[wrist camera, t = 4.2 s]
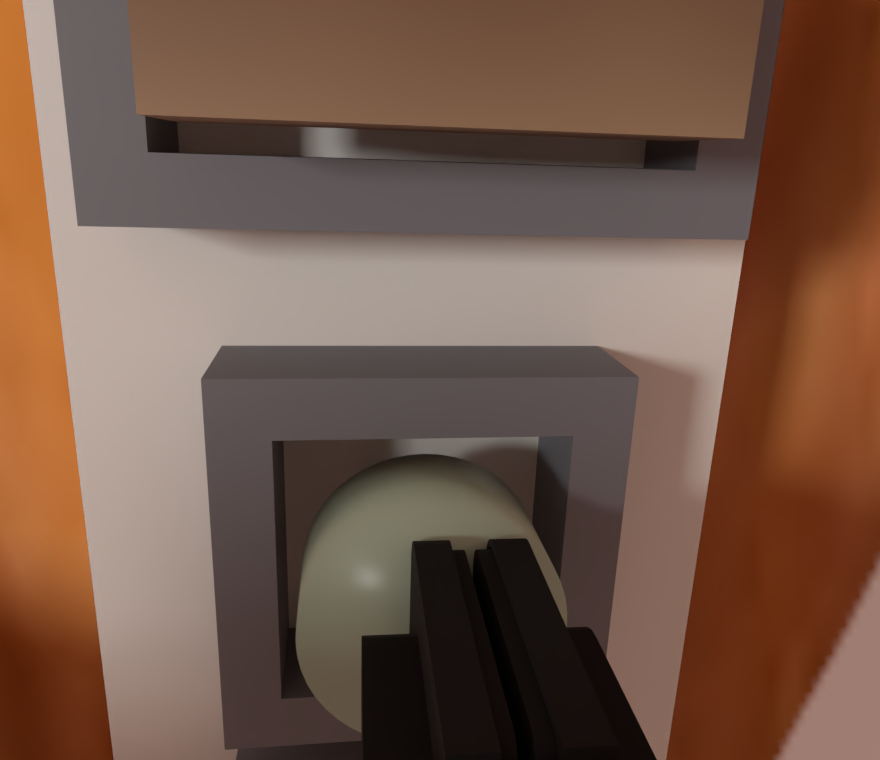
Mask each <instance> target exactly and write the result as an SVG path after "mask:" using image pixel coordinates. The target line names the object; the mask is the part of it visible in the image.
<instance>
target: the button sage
mask: <svg viewBox="0 0 880 760" xmlns="http://www.w3.org/2000/svg"><path fill="white" fill-rule="evenodd" d="M515 538H526V539H527V540H528V541H529V543H530V546H531V548H532V550H533V553H534V555H535V557H536V559H537V562H538V564H539V566H540V568H541V571H542V573H543V575H544V577H545V580H546V582H547V584H548V586H549V589H550V591H551V593H552V595H553V598H554V600H555V602H556V605H557V607H558V609H559V611H560V614H561V616H562V618H563V620H564V623H565V625H566V627H567V606H566V598H565V594H564V591H563V587H562V584H561V581H560V579H559V577H558V575H557V572H556V570H555V568H554V566H553V564H552V562H551V560H550V558H549V556H548V554H547V553H546V551H545V549H544V547H543V545H542V543H541V541H540V539H539V537H538V535H537V533H536V531H535V529H534V527H533V525H532V523H531V521H530V519H529V517H528V515H527V513H526V511H525V509H524V507H523V506H522V504H521V503H520V501H519V499H518V498H517V496H516V495H515V494H514V493H513V492H512V490H511V489H510V488H509V487H508V486H507V485H506V484H505V483H504V482H503V481H501V480H500V479H499V478H498V477H497V476H495V475H494V474H492V473H491V472H489V471H488V470H486V469H484V468H483V467H481V466H478V465H476V464H474V463H472V462H469V461H466V460H463V459H460V458H456V457H451V456H445V455H440V454H415V455H406V456H401V457H396V458H392V459H389V460H385V461H382V462H379V463H377V464H374V465H372V466H370V467H368V468H366V469H364V470H362V471H360V472H359V473H357V474H356V475H354V476H352V477H351V478H349V479H348V480H347V481H346V482H344V483H343V484H342V485H341V486H340V487H338V488H337V489H336V490H335V491H334V492H333V493H332V494H331V496H330V497H329V498H328V499H327V500H326V501H325V503H324V504H323V505H322V507H321V508H320V510H319V511H318V513H317V514H316V516H315V518H314V520H313V522H312V524H311V526H310V529H309V532H308V535H307V537H306V542H305V547H304V552H303V561H302V571H301V581H300V592H299V602H298V612H297V622H296V639H295V641H296V651H297V658H298V661H299V665H300V669H301V672H302V674H303V676H304V678H305V681H306V683H307V685H308V687H309V688H310V690H311V691H312V693H313V694H314V696H315V697H316V699H317V700H318V701H319V702H320V703H321V704H322V705H323V707H324V708H325V709H326V710H327V711H328V712H330V713H331V714H332V715H333V716H334V717H335V718H337V719H338V720H339V721H341V722H343V723H344V724H346V725H347V726H349V727H350V728H352V729H354V730H356V731H359V732H361V638H362V636H365V635H390V634H409V625H410V584H411V548H412V541H436V540H450V542H451V546H452V550H465V552H466V556H467V560H468V563H469V567H470V571H471V574H472V578H473V560H474V552H475V550H476V549H487V543H488V541H489V539H515Z"/></svg>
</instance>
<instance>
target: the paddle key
mask: <svg viewBox="0 0 880 760" xmlns="http://www.w3.org/2000/svg"><path fill="white" fill-rule="evenodd" d="M127 4H128V16H129V28H130V41H131V53H132V65H133V77H134V89H135V101H136V114H137V115H142V116H147V117H153V118H158V119H164V120H169V121H175V122H194V123H220V124H245V125H271V126H297V127H322V128H348V129H374V130H399V131H425V132H451V133H476V134H502V135H528V136H553V137H579V138H605V139H630V140H656V141H693V140H722V139H744V135H745V128H746V122H747V115H748V108H749V101H750V94H751V87H752V81H753V74H754V67H755V60H756V53H757V46H758V40H759V33H760V26H761V19H762V12H763V5H764V0H127Z"/></svg>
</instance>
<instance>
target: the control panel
mask: <svg viewBox="0 0 880 760" xmlns="http://www.w3.org/2000/svg"><path fill="white" fill-rule="evenodd" d="M784 3H785V0H764V5H763V12H762V19H761V26H760V33H759V40H758V46H757V53H756V60H755V67H754V74H753V81H752V87H751V94H750V101H749V108H748V115H747V122H746V128H745V135H744V139H722V140H693V141H656V140H630V139H605V138H579V137H553V136H528V135H502V134H476V133H451V132H425V131H399V130H374V129H348V128H322V127H297V126H271V125H245V124H220V123H194V122H175V121H169V120H164V119H158V118H153V117H147V116H142V115H137V114H136V101H135V89H134V77H133V65H132V53H131V41H130V28H129V16H128V4H127V0H23V8H24V16H25V25H26V33H27V41H28V50H29V58H30V66H31V75H32V83H33V91H34V100H35V108H36V116H37V125H38V133H39V142H40V150H41V158H42V167H43V175H44V183H45V192H46V200H47V208H48V217H49V225H50V233H51V242H52V250H53V258H54V267H55V275H56V283H57V292H58V300H59V308H60V317H61V325H62V334H63V342H64V350H65V359H66V367H67V375H68V384H69V392H70V400H71V409H72V417H73V425H74V434H75V442H76V450H77V459H78V467H79V475H80V484H81V492H82V500H83V509H84V517H85V525H86V534H87V542H88V551H89V559H90V567H91V576H92V584H93V592H94V601H95V609H96V617H97V626H98V634H99V642H100V651H101V659H102V667H103V676H104V684H105V692H106V701H107V709H108V717H109V726H110V734H111V742H112V751H113V759H114V760H362V742H361V732H359V731H356V730H354V729H352V728H350V727H349V726H347V725H346V724H344V723H343V722H341V721H339V720H338V719H337V718H335V717H334V716H333V715H332V714H331V713H330V712H328V711H327V710H326V709H325V708H324V707H323V705H322V704H321V703H320V702H319V701H318V700H317V699H316V697H315V696H314V694H313V693H312V691H311V690H310V688H309V687H308V685H307V683H306V681H305V678H304V676H303V674H302V672H301V669H300V665H299V661H298V658H297V651H296V641H295V639H296V622H297V612H298V602H299V592H300V581H301V571H302V561H303V552H304V547H305V542H306V537H307V535H308V532H309V529H310V526H311V524H312V522H313V520H314V518H315V516H316V514H317V513H318V511H319V510H320V508H321V507H322V505H323V504H324V503H325V501H326V500H327V499H328V498H329V497H330V496H331V494H332V493H333V492H334V491H335V490H336V489H337V488H338V487H340V486H341V485H342V484H343V483H344V482H346V481H347V480H348V479H349V478H351V477H352V476H354V475H356V474H357V473H359V472H360V471H362V470H364V469H366V468H368V467H370V466H372V465H374V464H377V463H379V462H382V461H385V460H389V459H392V458H396V457H401V456H406V455H415V454H440V455H445V456H451V457H456V458H460V459H463V460H466V461H469V462H472V463H474V464H476V465H478V466H481V467H483V468H484V469H486V470H488V471H489V472H491V473H492V474H494V475H495V476H497V477H498V478H499V479H500V480H501V481H503V482H504V483H505V484H506V485H507V486H508V487H509V488H510V489H511V490H512V492H513V493H514V494H515V495H516V496H517V498H518V499H519V501H520V503H521V504H522V506H523V507H524V509H525V511H526V513H527V515H528V517H529V519H530V521H531V523H532V525H533V527H534V529H535V531H536V533H537V535H538V537H539V539H540V541H541V543H542V545H543V547H544V549H545V551H546V553H547V554H548V556H549V558H550V560H551V562H552V564H553V566H554V568H555V570H556V572H557V575H558V577H559V579H560V581H561V584H562V587H563V591H564V594H565V598H566V606H567V627H588V628H590V629H591V630H592V631H593V633H594V634H595V636H596V637H597V640H598V642H599V644H600V646H601V648H602V650H603V652H604V654H605V656H606V658H607V660H608V662H609V664H610V666H611V668H612V670H613V672H614V674H615V676H616V678H617V680H618V682H619V684H620V686H621V688H622V690H623V692H624V694H625V696H626V698H627V700H628V702H629V704H630V706H631V708H632V710H633V712H634V714H635V716H636V718H637V720H638V722H639V724H640V727H641V729H642V731H643V733H644V735H645V737H646V739H647V741H648V743H649V745H650V747H651V749H652V751H653V753H654V755H655V757H656V759H657V760H666V757H667V751H668V744H669V738H670V731H671V725H672V718H673V712H674V705H675V698H676V692H677V685H678V679H679V672H680V666H681V659H682V653H683V646H684V640H685V633H686V626H687V620H688V613H689V607H690V600H691V594H692V587H693V581H694V574H695V568H696V561H697V554H698V548H699V541H700V535H701V528H702V522H703V515H704V509H705V502H706V496H707V489H708V483H709V476H710V469H711V463H712V456H713V450H714V443H715V437H716V430H717V424H718V417H719V411H720V404H721V397H722V391H723V384H724V378H725V371H726V365H727V358H728V352H729V345H730V339H731V332H732V325H733V319H734V312H735V306H736V299H737V293H738V286H739V280H740V273H741V267H742V260H743V253H744V247H745V240H748V237H749V231H750V224H751V218H752V211H753V205H754V198H755V192H756V185H757V179H758V172H759V166H760V159H761V153H762V146H763V140H764V133H765V127H766V120H767V114H768V107H769V101H770V94H771V88H772V81H773V75H774V68H775V62H776V55H777V49H778V42H779V36H780V29H781V23H782V16H783V10H784Z"/></svg>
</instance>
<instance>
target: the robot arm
mask: <svg viewBox="0 0 880 760" xmlns="http://www.w3.org/2000/svg"><path fill="white" fill-rule="evenodd" d="M361 742H362V760H657V759H656V757H655V755H654V753H653V751H652V749H651V747H650V745H649V743H648V741H647V739H646V737H645V735H644V733H643V731H642V729H641V727H640V724H639V722H638V720H637V718H636V716H635V714H634V712H633V710H632V708H631V706H630V704H629V702H628V700H627V698H626V696H625V694H624V692H623V690H622V688H621V686H620V684H619V682H618V680H617V678H616V676H615V674H614V672H613V670H612V668H611V666H610V664H609V662H608V660H607V658H606V656H605V654H604V652H603V650H602V648H601V646H600V644H599V642H598V640H597V637H596V636H595V634H594V633H593V631H592V630H591V629H590V628H588V627H566V625H565V623H564V620H563V618H562V616H561V614H560V611H559V609H558V607H557V605H556V602H555V600H554V598H553V595H552V593H551V591H550V589H549V586H548V584H547V582H546V580H545V577H544V575H543V573H542V571H541V568H540V566H539V564H538V562H537V559H536V557H535V555H534V553H533V550H532V548H531V546H530V543H529V541H528V540H527V539H526V538H515V539H489V541H488V543H487V549H476V550H475V552H474V560H473V578H472V574H471V571H470V567H469V563H468V560H467V556H466V552H465V550H452V546H451V542H450V540H436V541H412V548H411V584H410V625H409V634H390V635H365V636H362V638H361Z"/></svg>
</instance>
